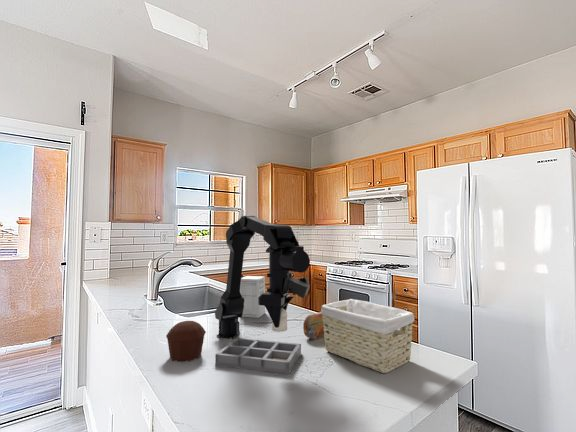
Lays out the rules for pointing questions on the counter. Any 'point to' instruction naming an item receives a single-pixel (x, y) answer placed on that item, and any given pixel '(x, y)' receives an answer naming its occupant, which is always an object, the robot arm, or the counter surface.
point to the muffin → (185, 341)
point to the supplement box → (252, 295)
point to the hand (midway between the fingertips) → (279, 325)
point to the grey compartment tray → (259, 355)
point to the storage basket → (368, 333)
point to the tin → (314, 326)
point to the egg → (281, 322)
